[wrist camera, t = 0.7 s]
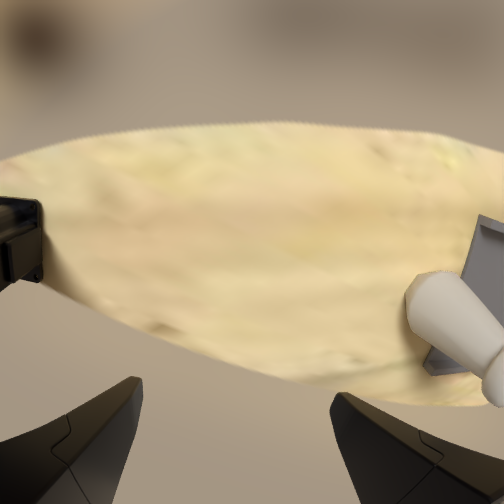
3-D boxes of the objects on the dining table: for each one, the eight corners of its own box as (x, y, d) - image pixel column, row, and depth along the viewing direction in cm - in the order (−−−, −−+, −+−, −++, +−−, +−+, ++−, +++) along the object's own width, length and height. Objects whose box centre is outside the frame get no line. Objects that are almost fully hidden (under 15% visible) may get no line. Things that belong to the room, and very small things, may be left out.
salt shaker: (382, 306, 23) (475, 417, 11) (424, 248, 22) (544, 328, 9) (420, 331, 24) (502, 426, 12) (457, 281, 23) (557, 357, 11)
